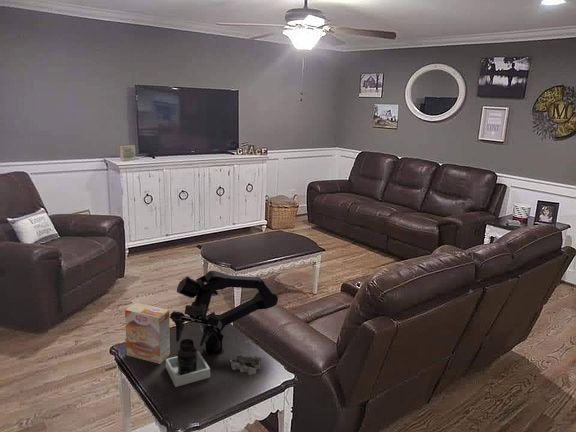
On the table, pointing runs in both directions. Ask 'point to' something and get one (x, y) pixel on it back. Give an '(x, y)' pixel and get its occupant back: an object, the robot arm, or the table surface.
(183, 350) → the supplement bottle
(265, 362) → the table surface
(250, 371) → the egg carton
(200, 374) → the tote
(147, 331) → the coffeecake box
